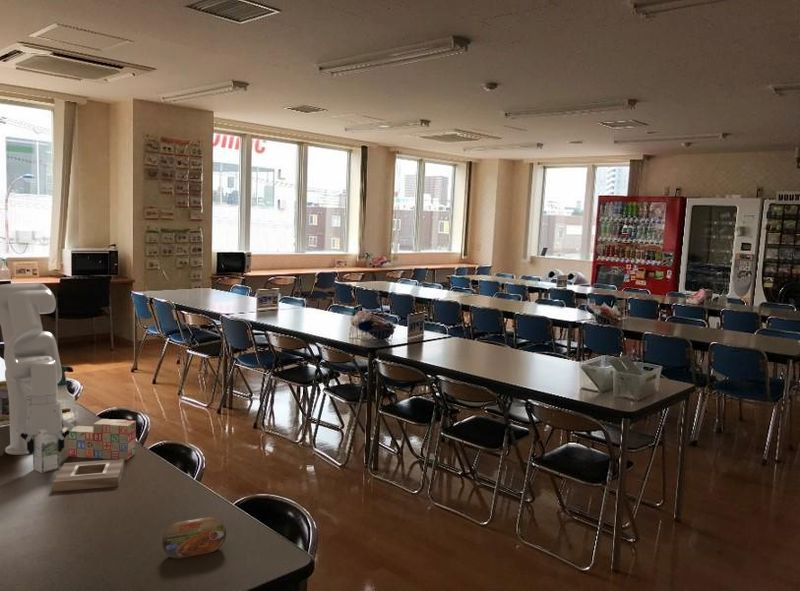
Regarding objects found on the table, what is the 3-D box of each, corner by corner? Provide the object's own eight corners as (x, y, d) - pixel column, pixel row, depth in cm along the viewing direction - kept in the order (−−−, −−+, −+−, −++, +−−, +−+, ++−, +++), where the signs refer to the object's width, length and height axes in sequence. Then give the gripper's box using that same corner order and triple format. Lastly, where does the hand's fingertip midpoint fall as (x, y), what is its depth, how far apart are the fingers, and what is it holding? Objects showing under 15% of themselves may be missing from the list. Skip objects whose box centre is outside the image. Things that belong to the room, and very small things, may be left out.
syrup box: (50, 464, 216) (49, 422, 215) (59, 468, 213) (58, 425, 212) (33, 469, 212) (31, 426, 210) (42, 473, 208) (40, 429, 207)
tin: (162, 561, 157) (162, 527, 156) (161, 555, 160) (161, 522, 159) (226, 550, 163) (226, 518, 162) (224, 544, 166) (224, 513, 165)
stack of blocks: (67, 457, 224) (67, 422, 223) (78, 451, 230) (77, 417, 229) (127, 460, 223) (127, 425, 222) (136, 454, 229) (136, 420, 228)
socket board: (64, 472, 210) (64, 462, 210) (124, 467, 216) (124, 458, 215) (53, 491, 195) (53, 481, 195) (118, 486, 200) (118, 476, 200)
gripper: (10, 403, 204) (12, 457, 206) (72, 400, 209) (73, 453, 211) (17, 397, 211) (19, 449, 213) (76, 394, 216) (77, 446, 218)
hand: (46, 451), depth 212 cm, fingers closed on syrup box, 8 cm apart
